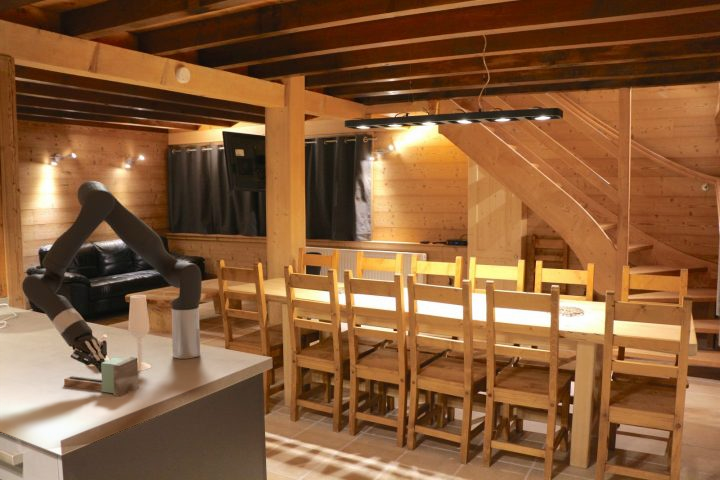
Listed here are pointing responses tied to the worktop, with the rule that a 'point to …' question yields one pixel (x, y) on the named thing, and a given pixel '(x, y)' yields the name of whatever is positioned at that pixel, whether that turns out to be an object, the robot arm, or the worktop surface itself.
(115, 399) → the worktop surface
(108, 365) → the block
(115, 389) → the rail
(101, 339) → the white vr controller
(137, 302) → the champagne flute
